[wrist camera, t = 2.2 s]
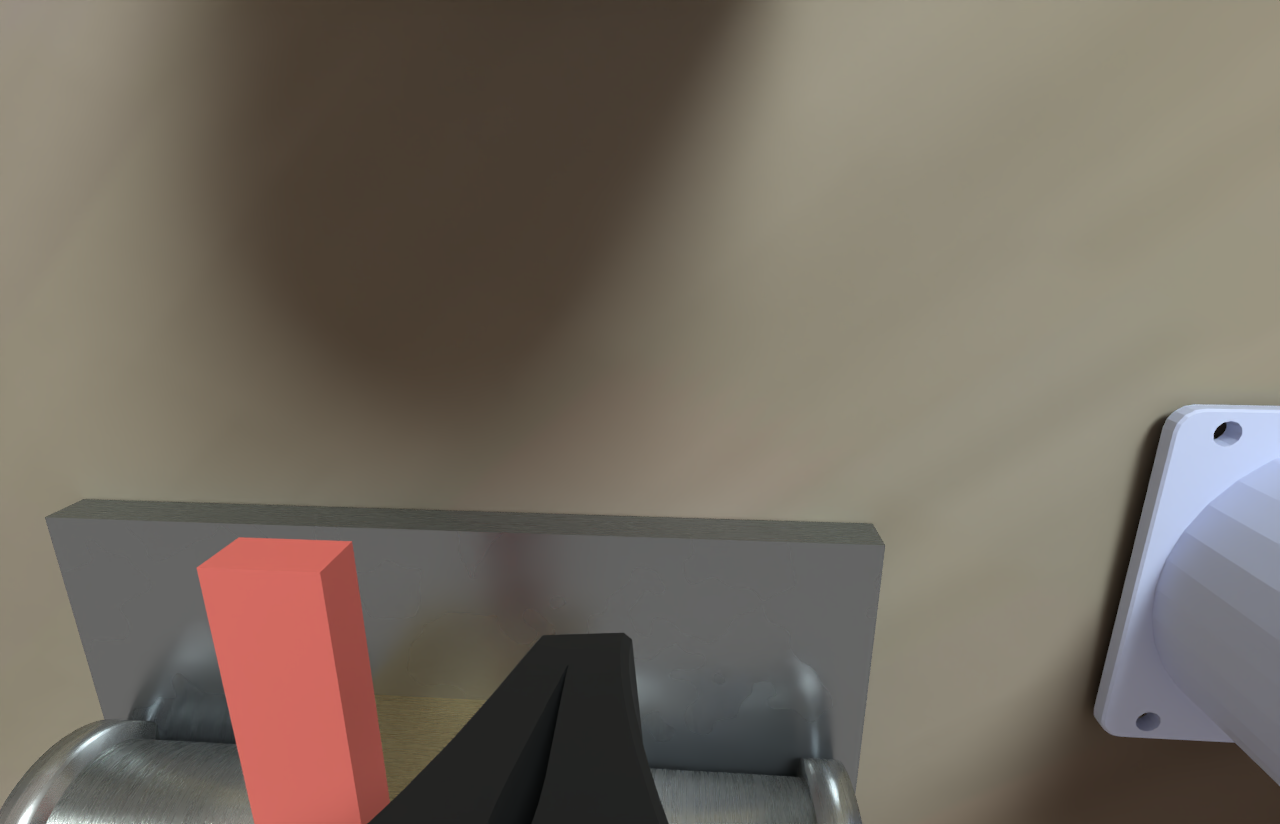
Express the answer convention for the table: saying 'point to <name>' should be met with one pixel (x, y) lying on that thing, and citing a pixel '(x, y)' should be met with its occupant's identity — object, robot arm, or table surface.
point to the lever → (297, 679)
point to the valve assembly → (480, 649)
